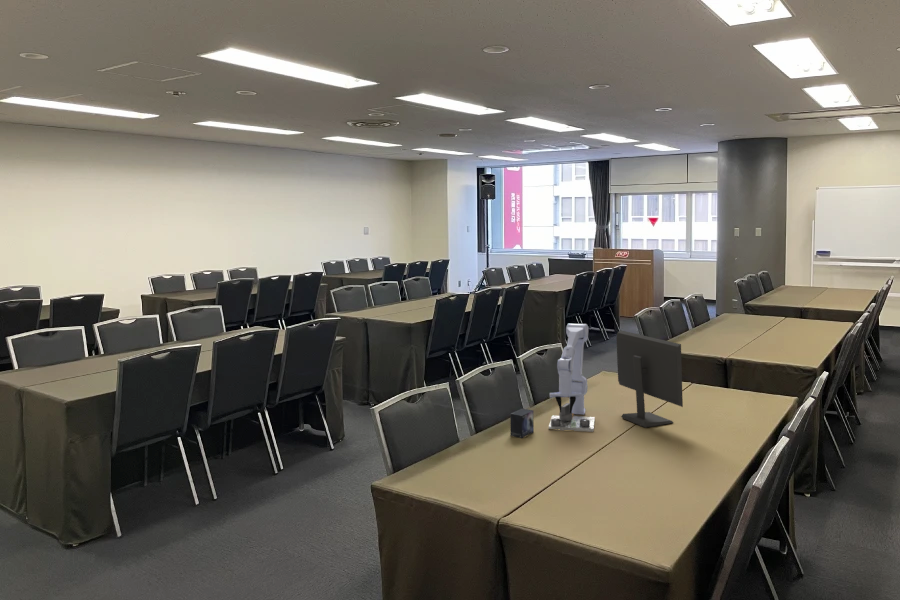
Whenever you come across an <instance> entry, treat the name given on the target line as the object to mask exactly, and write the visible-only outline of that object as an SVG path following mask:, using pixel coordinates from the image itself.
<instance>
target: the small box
mask: <svg viewBox="0 0 900 600" xmlns="http://www.w3.org/2000/svg"><path fill="white" fill-rule="evenodd" d="M509 415H510V416H509V417H510V422H509V423H510V424H509V425H510V431H509V432H510V434H509V435H510V437H514V438H519V439H523V438H525V437H527V436H530V435H531V434H533V433H534V410H532V409H528V408H523V407H521V408H519V409H518V410H515V411H513V412H511V413H509Z"/></svg>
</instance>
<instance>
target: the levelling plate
mask: <svg viewBox="0 0 900 600" xmlns="http://www.w3.org/2000/svg"><path fill="white" fill-rule="evenodd" d="M595 418H596V417H595V416H581V415H572V421H561V420H560V419H559V415H556V414H555V415H552V416H551V417H550V422H549V424H548V430H549V429H560V430H559V431H564V430H574V431H573V432H591V433H593V432H595V431H594V430H595V429H594V428H595Z"/></svg>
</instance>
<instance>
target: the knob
mask: <svg viewBox="0 0 900 600" xmlns="http://www.w3.org/2000/svg"><path fill="white" fill-rule="evenodd" d="M558 416H559V419H560V420H561V421H572V416H575V414H574V413H570V403H569V402H565V404H562V405H561V413H560V412H559V413H558Z"/></svg>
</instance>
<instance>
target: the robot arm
mask: <svg viewBox="0 0 900 600" xmlns="http://www.w3.org/2000/svg"><path fill="white" fill-rule="evenodd" d="M565 332H566V336H567V337H568V338H567V343H566V344H567V345H565V347H563V350H562V354H561V357H560V358H559V359H557V363H556V369H557V374H558V391H557V392H549V398H550V399H552V398H555V400H556V403H557V405H558V409H559V413H561V406H562V398H568V399H569V402H568V403H570V413H574V415H585V414H586V408H585V395H586V394H587V393H588V387H589V386H588V379H587V378H586V377H585V376H584V375H583V363H584V362H583V361H584V360H583V359H584V346H585V343H586V342H587V341H588V340H589V339H588V338H589V326H588V324H587V323H567V325H566V327H565Z"/></svg>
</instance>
